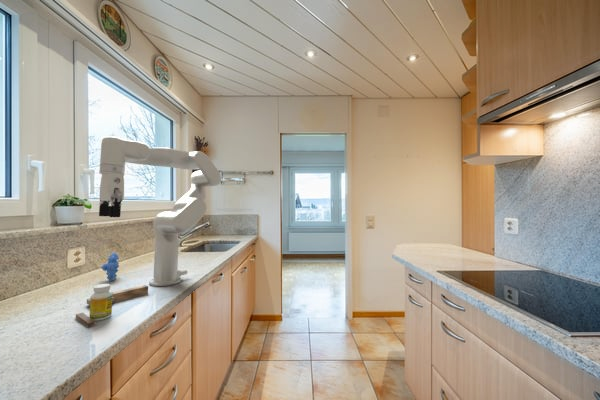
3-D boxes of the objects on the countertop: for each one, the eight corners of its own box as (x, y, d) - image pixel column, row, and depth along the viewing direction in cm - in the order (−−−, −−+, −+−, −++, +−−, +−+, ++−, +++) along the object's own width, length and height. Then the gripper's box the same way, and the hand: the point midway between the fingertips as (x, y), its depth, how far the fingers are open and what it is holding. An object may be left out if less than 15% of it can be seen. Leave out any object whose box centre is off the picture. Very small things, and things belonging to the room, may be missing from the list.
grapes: (103, 277, 120) (104, 251, 121) (120, 276, 123) (121, 251, 124) (97, 284, 110) (98, 256, 110) (116, 282, 113) (117, 255, 113)
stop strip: (82, 316, 78) (82, 312, 78) (95, 325, 73) (95, 321, 73) (75, 318, 77) (75, 314, 77) (88, 327, 71) (88, 323, 71)
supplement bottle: (92, 315, 79) (93, 284, 80) (113, 312, 82) (114, 282, 82) (86, 322, 74) (88, 289, 75) (109, 319, 77) (110, 287, 77)
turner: (142, 291, 102) (143, 284, 102) (150, 294, 99) (150, 286, 99) (86, 305, 87) (86, 296, 87) (92, 309, 84) (93, 300, 84)
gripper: (133, 170, 94) (131, 217, 93) (114, 173, 103) (111, 215, 103) (109, 167, 87) (106, 217, 87) (91, 170, 97) (88, 215, 96)
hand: (109, 216), depth 95 cm, fingers open, 9 cm apart
